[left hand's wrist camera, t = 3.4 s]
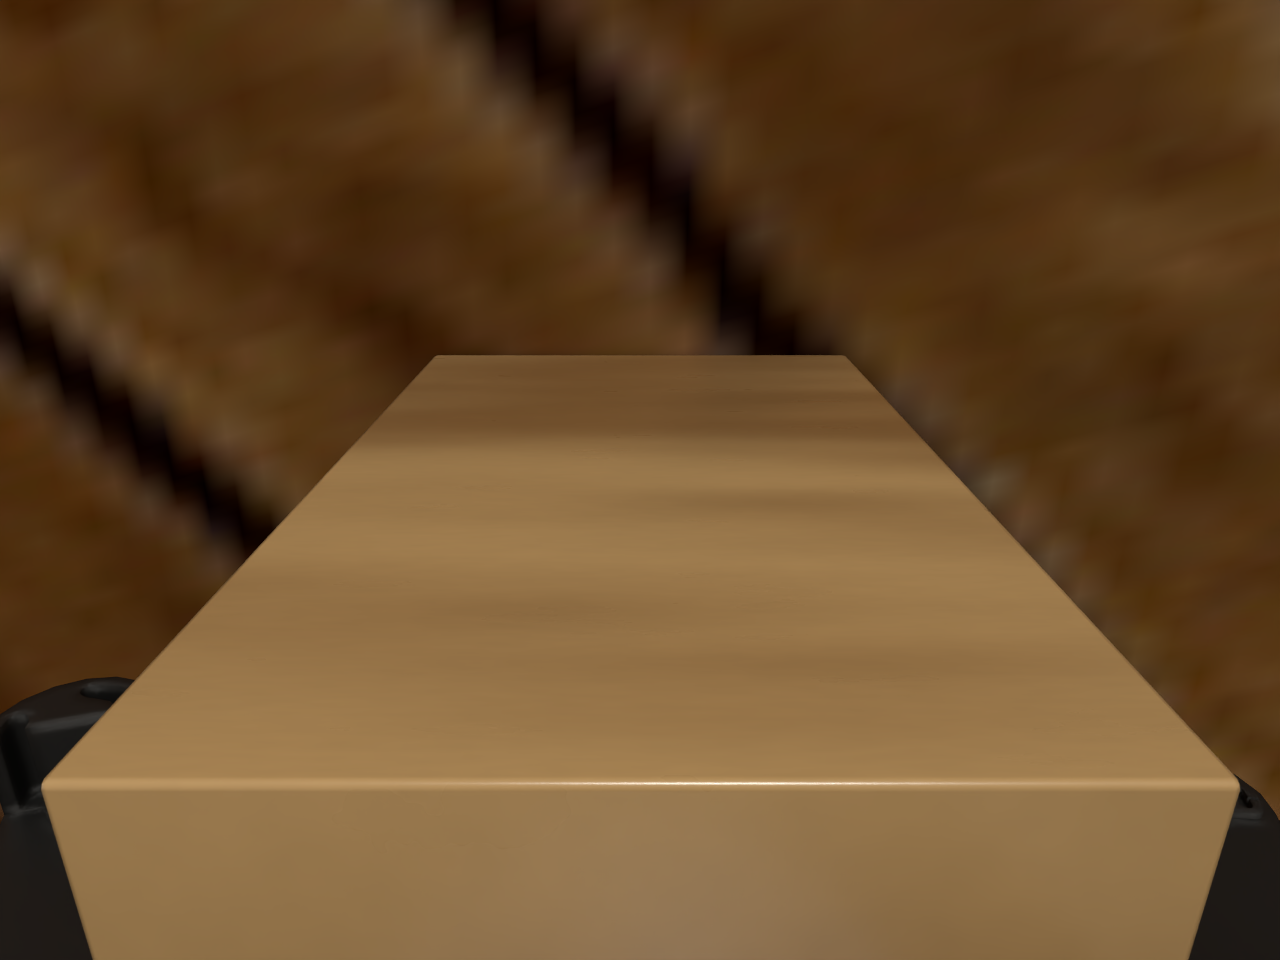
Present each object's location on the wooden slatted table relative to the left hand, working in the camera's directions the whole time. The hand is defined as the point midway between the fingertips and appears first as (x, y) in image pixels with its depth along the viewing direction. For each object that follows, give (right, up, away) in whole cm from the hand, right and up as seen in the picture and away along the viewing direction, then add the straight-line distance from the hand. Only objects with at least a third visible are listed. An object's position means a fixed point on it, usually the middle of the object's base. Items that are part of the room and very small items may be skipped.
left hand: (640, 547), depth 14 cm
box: (0, -7, +3) cm, 8 cm away
